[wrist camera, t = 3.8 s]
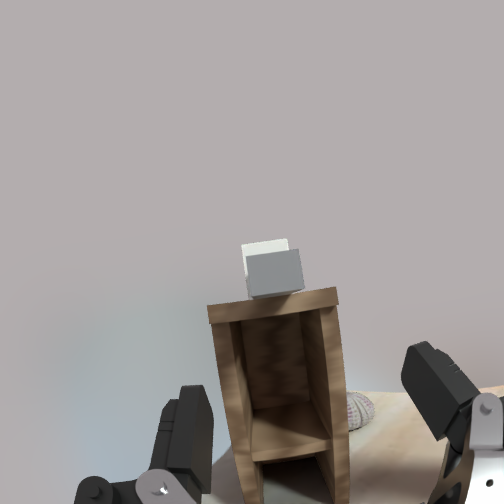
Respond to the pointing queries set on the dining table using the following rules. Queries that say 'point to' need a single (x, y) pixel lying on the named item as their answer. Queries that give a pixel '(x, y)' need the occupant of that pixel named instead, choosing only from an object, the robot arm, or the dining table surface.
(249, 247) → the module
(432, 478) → the dining table surface
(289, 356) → the shelf unit
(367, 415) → the sea urchin shell
